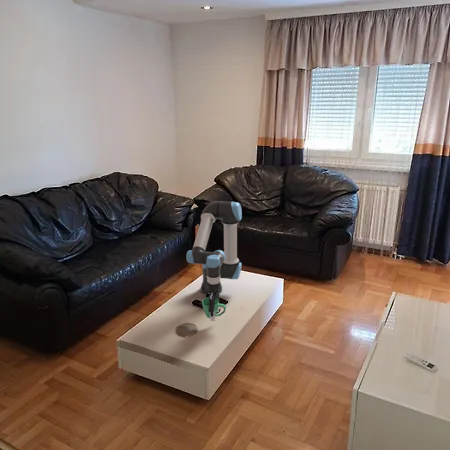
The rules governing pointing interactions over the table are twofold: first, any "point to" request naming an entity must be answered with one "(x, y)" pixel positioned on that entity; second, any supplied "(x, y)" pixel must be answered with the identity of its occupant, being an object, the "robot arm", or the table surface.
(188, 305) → the table surface
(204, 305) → the mug
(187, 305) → the table surface
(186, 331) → the plate
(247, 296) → the table surface
